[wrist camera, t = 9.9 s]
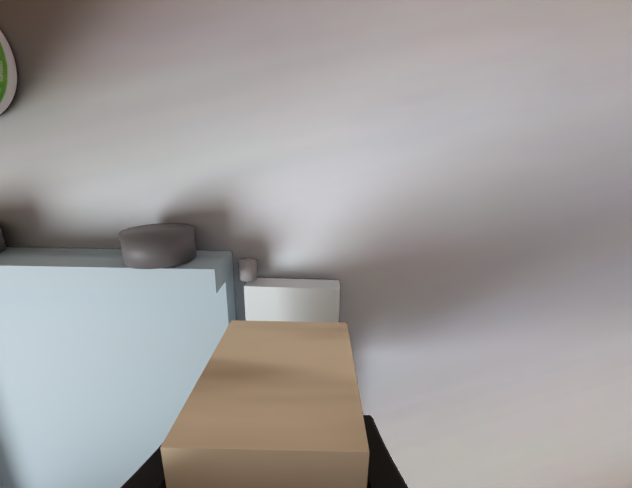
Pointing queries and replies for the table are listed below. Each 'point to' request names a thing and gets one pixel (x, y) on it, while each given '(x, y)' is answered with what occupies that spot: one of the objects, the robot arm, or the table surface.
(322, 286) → the tailgate
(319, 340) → the light wooden block
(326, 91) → the table surface
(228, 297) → the truck bed
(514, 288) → the table surface
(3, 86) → the supplement bottle
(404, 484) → the robot arm
